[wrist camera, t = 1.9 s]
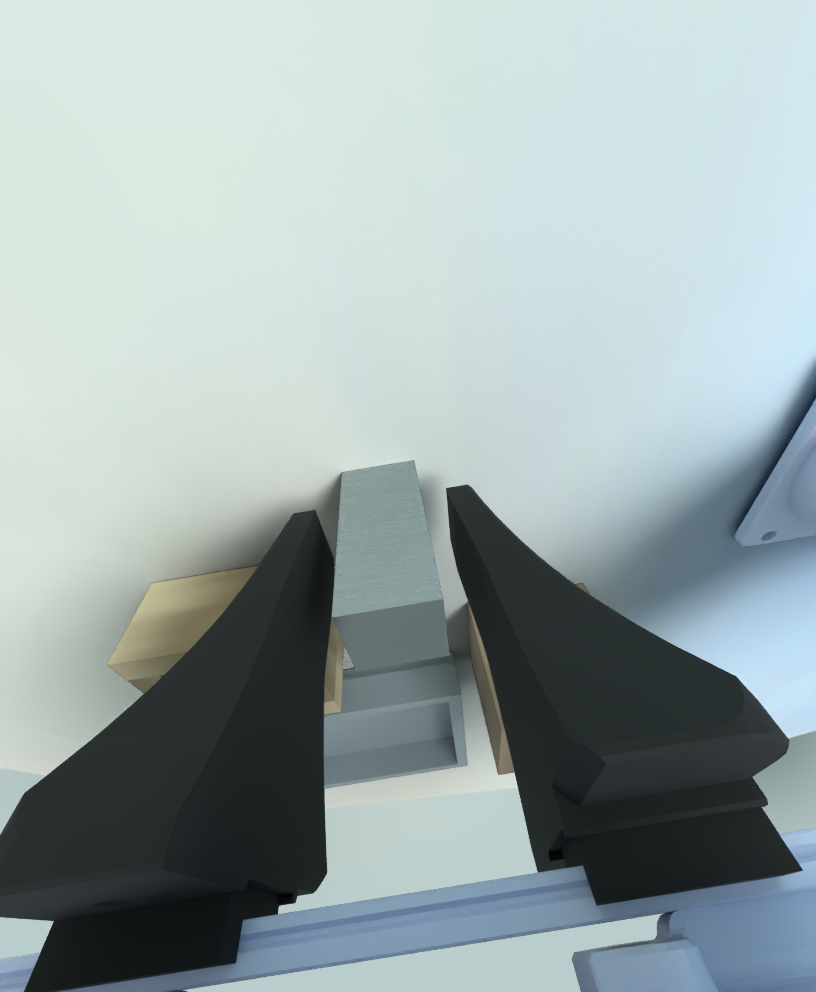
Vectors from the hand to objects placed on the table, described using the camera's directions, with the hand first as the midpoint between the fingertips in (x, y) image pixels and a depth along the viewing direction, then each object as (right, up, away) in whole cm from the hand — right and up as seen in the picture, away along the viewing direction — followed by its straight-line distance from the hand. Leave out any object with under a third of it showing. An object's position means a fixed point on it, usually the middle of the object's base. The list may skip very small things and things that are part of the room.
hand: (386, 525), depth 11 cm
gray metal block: (0, +1, +1) cm, 1 cm away
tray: (-2, -12, +11) cm, 16 cm away
